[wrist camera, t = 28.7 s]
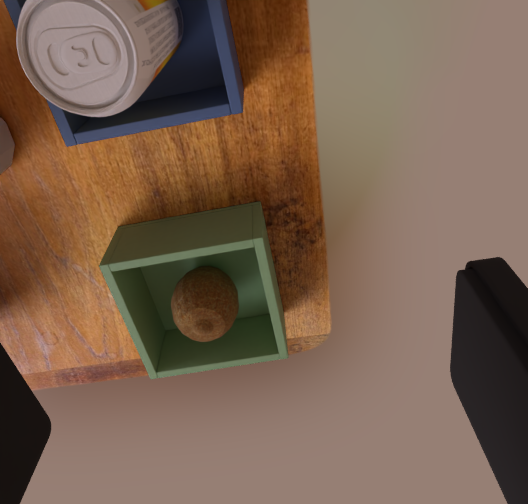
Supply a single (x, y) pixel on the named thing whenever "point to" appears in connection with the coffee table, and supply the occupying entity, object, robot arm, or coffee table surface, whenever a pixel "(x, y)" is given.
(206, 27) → the blue bin
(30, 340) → the coffee table surface
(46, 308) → the coffee table surface
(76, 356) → the coffee table surface
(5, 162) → the water bottle
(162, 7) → the beer can
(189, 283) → the fruit
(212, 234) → the green bin
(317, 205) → the coffee table surface
